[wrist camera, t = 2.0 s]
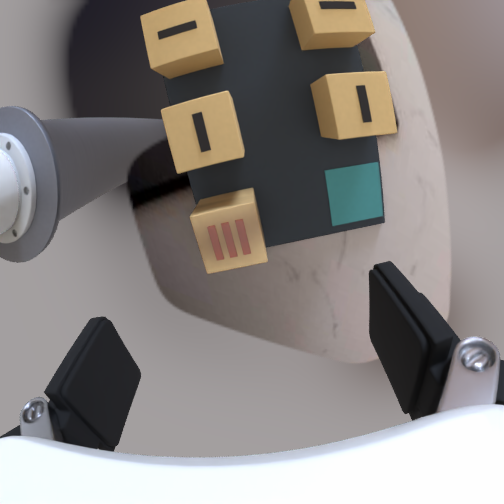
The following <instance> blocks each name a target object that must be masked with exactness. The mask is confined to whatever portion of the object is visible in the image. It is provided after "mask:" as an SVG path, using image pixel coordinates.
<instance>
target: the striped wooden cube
mask: <svg viewBox="0 0 504 504" xmlns="http://www.w3.org/2000/svg"><path fill="white" fill-rule="evenodd" d="M190 220H191V224H192V227H193V230H194V234H195V237H196V240H197V243H198V246H199V250H200V253H201V256H202V259H203V262H204V265H205V268H206V271H207V274H210V273H215V272H220V271H225V270H230V269H235V268H240V267H245V266H250V265H255V264H260V263H264V262H268V258H267V251H266V245H265V238H264V233H263V229H262V224H261V220H260V215H259V211H258V206H257V202H256V198H255V193H254V189H253V188H248V189H243V190H239V191H234V192H230V193H225V194H221V195H217V196H213V197H209V198H205V199H201V200H200V201H199V202H198V204H197V206H196V207H195V209H194V211H193V212H192V214H191V215H190Z"/></svg>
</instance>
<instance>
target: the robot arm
mask: <svg viewBox="0 0 504 504" xmlns="http://www.w3.org/2000/svg"><path fill="white" fill-rule="evenodd" d="M36 198H37V197H36V181H35V174H34V170H33V167H32V163H31V160H30V158H29V155H28V153H27V151H26V150H25V148H24V146H23V145H22V144H21V143H20V141H19V140H18V139H17V138H15V137H14V136H12V135H10V134H7V133H0V242H1V243H11V242H15V241H16V240H18V239H19V238H21V237H22V236H23V235H24V234H25V233H26V232H27V230H28V229H29V227H30V225H31V223H32V220H33V217H34V213H35V208H36ZM369 300H370V317H369V334H370V339H371V342H372V344H373V346H374V348H375V350H376V352H377V355H378V357H379V359H380V361H381V363H382V365H383V367H384V369H385V372H386V374H387V376H388V378H389V381H390V383H391V385H392V387H393V390H394V392H395V394H396V397H397V399H398V401H399V404H400V406H401V408H402V411H403V412H404V413H405V414H407V413H409V414H410V416H411V419H412V421H410V422H406V423H403V424H400V425H396V426H393V427H390V428H387V429H384V430H380V431H377V432H373V433H370V434H366V435H363V436H358V437H354V438H350V439H346V440H341V441H337V442H333V443H329V444H323V445H318V446H314V447H308V448H302V449H296V450H289V451H282V452H275V453H266V454H256V455H245V456H230V457H193V458H192V457H163V456H148V455H137V454H127V453H119V452H114V449H115V446H117V445H118V443H119V441H120V437H121V434H122V431H123V428H124V425H125V422H126V419H127V416H128V413H129V410H130V407H131V404H132V401H133V398H134V396H135V393H136V390H137V387H138V384H139V381H140V378H141V372H140V369H139V368H138V366H137V365H136V363H135V361H134V360H133V358H132V357H131V355H130V353H129V352H128V350H127V348H126V347H125V345H124V344H123V341H122V340H121V338H120V336H119V335H118V333H117V331H116V329H115V327H114V326H113V324H112V322H111V321H110V320H108V319H107V318H106V317H96V318H92V319H90V320H89V322H88V323H87V325H86V326H85V327H84V329H83V330H82V332H81V334H80V335H79V336H78V338H77V339H76V341H75V343H74V344H73V346H72V347H71V349H70V350H69V352H68V353H67V355H66V356H65V358H64V360H63V361H62V363H61V365H60V366H59V368H58V369H57V371H56V373H55V374H54V376H53V378H52V379H51V381H50V383H49V385H48V386H47V388H46V390H45V391H44V393H45V394H46V395H47V396H48V398H49V399H50V401H49V403H48V402H47V401H46V400H45V399H44V398H42V397H36V398H34V399H31V400H30V401H29V402H27V403H26V404H25V406H24V407H23V409H22V410H21V413H20V425H19V426H17V427H16V428H14V429H12V430H11V431H9V432H7V433H6V434H4V435H2V436H1V437H0V504H504V360H500V353H499V351H498V349H497V347H496V346H495V345H494V344H493V343H492V342H491V341H489V340H487V339H485V338H482V337H469V338H465V339H463V340H462V341H461V340H460V339H459V338H458V336H457V335H456V334H455V333H454V331H453V330H452V329H451V327H450V326H449V325H448V324H447V322H446V321H445V320H444V319H443V317H442V316H441V315H440V314H439V312H438V311H437V310H436V309H435V308H434V306H433V305H432V304H431V303H430V302H429V300H428V299H427V298H426V297H425V296H424V295H423V294H422V293H419V292H418V291H417V290H416V289H415V288H414V287H413V285H412V284H411V283H410V282H409V281H408V280H407V278H406V277H405V276H404V275H403V274H402V273H401V272H400V271H399V269H398V268H397V267H396V266H395V265H394V264H393V263H392V262H391V261H388V262H384V263H379V264H375V265H374V268H373V270H370V271H369ZM421 417H422V418H421ZM418 418H419V419H418ZM415 419H416V420H415ZM98 449H99V450H98Z"/></svg>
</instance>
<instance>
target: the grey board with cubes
mask: <svg viewBox="0 0 504 504" xmlns="http://www.w3.org/2000/svg"><path fill="white" fill-rule="evenodd" d="M141 23H142V28H143V33H144V38H145V43H146V48H147V53H148V58H149V62H150V67H151V69H153V70H154V71H156V72H158V73H160V74H162V75H163V78H164V82H165V86H166V90H167V95H168V98H169V103H170V107H167V108H164V109H162V110H161V114H162V118H163V122H164V126H165V130H166V134H167V138H168V141H169V145H170V149H171V153H172V157H173V160H174V164H175V168H176V171H177V173H178V174H179V173H183V172H186V171H187V173H188V177H189V180H190V184H191V188H192V191H193V195H194V198H195V202H196V205H197V204H198V202H199V201H200V200H201V199H205V198H209V197H213V196H217V195H221V194H225V193H230V192H234V191H239V190H243V189H248V188H253V189H254V193H255V198H256V202H257V206H258V211H259V215H260V220H261V224H262V229H263V233H264V238H265V245H266V247H271V246H275V245H280V244H285V243H290V242H294V241H299V240H304V239H309V238H314V237H318V236H323V235H328V234H333V233H338V232H342V231H347V230H352V229H357V228H362V227H366V226H371V225H376V224H381V223H385V219H384V203H383V191H382V180H381V170H380V162H379V154H378V146H377V139H376V135H384V134H394V133H397V128H396V122H395V115H394V109H393V104H392V99H391V93H390V88H389V84H388V79H387V75H386V72H385V71H382V72H364V71H363V67H362V63H361V59H360V55H359V51H358V48H357V44H358V43H360V42H361V41H363V40H364V39H366V38H367V37H369V36H370V35H372V34H374V33H375V30H374V26H373V23H372V20H371V17H370V14H369V11H368V8H367V5H366V3H365V0H258V1H252V2H246V3H240V4H235V5H229V6H225V7H220V8H216V9H211V10H209V7H208V4H207V1H206V0H187V1H183V2H180V3H176V4H173V5H170V6H167V7H164V8H161V9H158V10H155V11H153V12H150V13H147V14H145V15H142V16H141Z"/></svg>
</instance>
